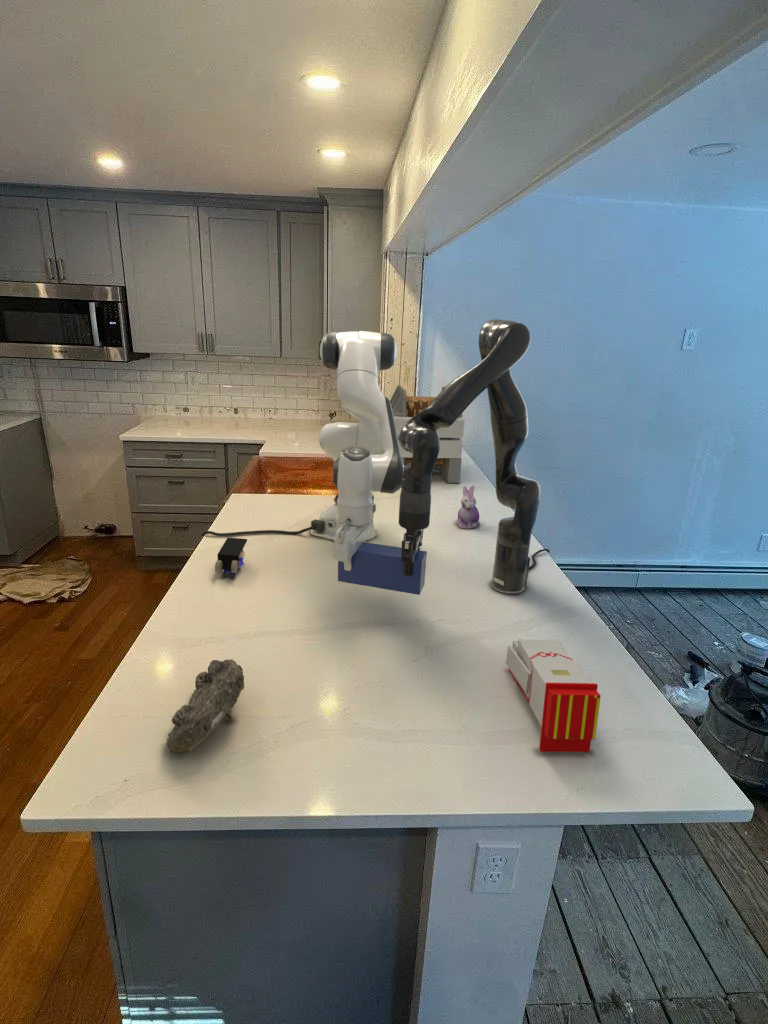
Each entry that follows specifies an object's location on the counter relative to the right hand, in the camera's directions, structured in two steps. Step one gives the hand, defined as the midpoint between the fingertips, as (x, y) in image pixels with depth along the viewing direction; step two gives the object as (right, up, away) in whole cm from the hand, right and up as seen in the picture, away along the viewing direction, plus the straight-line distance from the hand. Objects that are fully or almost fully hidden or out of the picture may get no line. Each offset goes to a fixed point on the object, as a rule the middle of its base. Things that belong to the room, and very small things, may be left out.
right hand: (411, 569), depth 142 cm
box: (-8, -4, +4) cm, 9 cm away
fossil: (-40, -25, -34) cm, 58 cm away
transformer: (+10, +33, +133) cm, 137 cm away
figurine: (+24, +10, +69) cm, 74 cm away
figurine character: (-52, -3, +25) cm, 58 cm away
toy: (+26, -25, -26) cm, 44 cm away
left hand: (-15, +1, +4) cm, 15 cm away
